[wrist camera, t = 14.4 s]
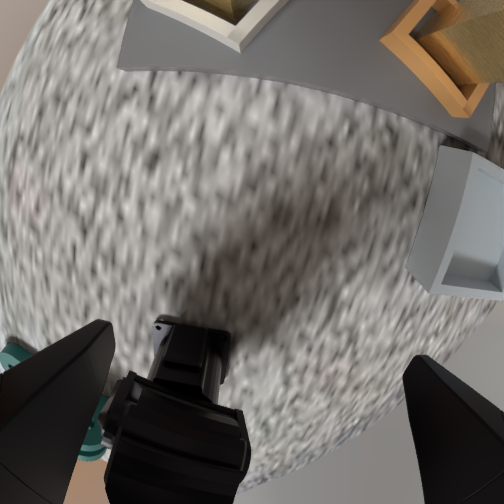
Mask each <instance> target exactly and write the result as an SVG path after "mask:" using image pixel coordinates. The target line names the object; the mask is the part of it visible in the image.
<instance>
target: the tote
mask: <svg viewBox="0 0 504 504" xmlns="http://www.w3.org/2000/svg"><path fill="white" fill-rule="evenodd" d="M405 268H406V269H407V270H408V271H409V272H410V273H411V274H412V275H413V276H414V277H415V279H416V280H417V281H418V282H419V283H420V284H421V285H422V286H423V287H424V289H425V290H426V291H427V292H428V293H430V294H440V295H449V296H458V297H468V298H478V299H488V300H499V301H503V300H504V169H502V168H501V167H499V166H497V165H495V164H494V163H492V162H490V161H488V160H487V159H485V158H483V157H481V156H479V155H477V154H476V153H474V152H470V151H466V150H461V149H457V148H452V147H447V146H441V145H440V147H439V152H438V157H437V161H436V166H435V170H434V175H433V179H432V183H431V187H430V191H429V195H428V198H427V202H426V206H425V209H424V212H423V216H422V219H421V223H420V226H419V229H418V232H417V235H416V238H415V241H414V244H413V247H412V250H411V253H410V256H409V259H408V261H407V264H406V267H405Z"/></svg>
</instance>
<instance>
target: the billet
mask: <svg viewBox="0 0 504 504" xmlns="http://www.w3.org/2000/svg"><path fill="white" fill-rule="evenodd" d="M413 39H414V40H415V41H416V42H417V43H418V44H419V45H420V46H421V47H422V48H423V49H424V50H425V51H426V52H427V53H428V55H429V56H430V57H431V58H432V59H433V60H434V61H435V62H436V63H437V64H438V65H439V67H440V68H441V69H442V70H443V71H444V72H445V73H446V75H447V76H448V77H449V78H450V79H451V81H452V82H453V83H454V84H455V85H464V84H477V83H498V82H504V0H462V1H460V2H458V3H455V4H453V5H451V6H449V7H447V8H444V9H442V10H440V11H438V12H436V13H434V14H432V15H431V16H430V17H429V18H428V20H427V21H426V22H425V23H424V25H423V26H422V27H421V28H420V30H419V31H418V32H417V33H416V35H415V36H414V37H413Z"/></svg>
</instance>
